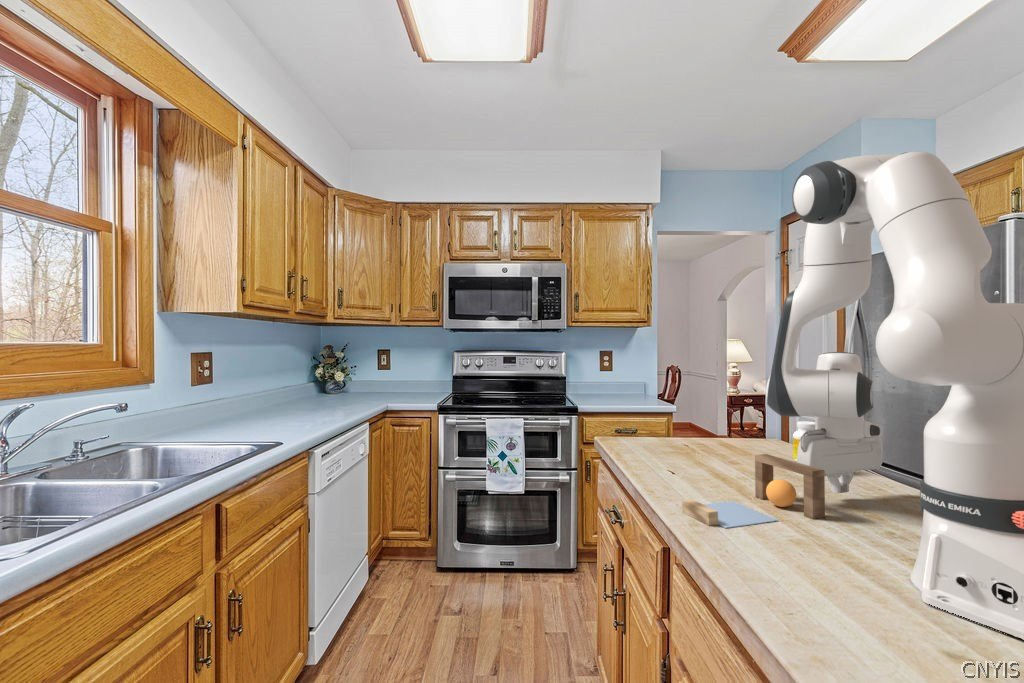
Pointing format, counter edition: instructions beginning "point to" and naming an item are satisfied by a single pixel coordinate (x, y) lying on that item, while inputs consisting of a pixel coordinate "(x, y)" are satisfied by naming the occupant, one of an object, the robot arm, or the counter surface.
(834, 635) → the counter surface
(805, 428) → the supplement bottle
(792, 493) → the ball
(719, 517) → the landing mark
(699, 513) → the wall
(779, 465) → the bridge
